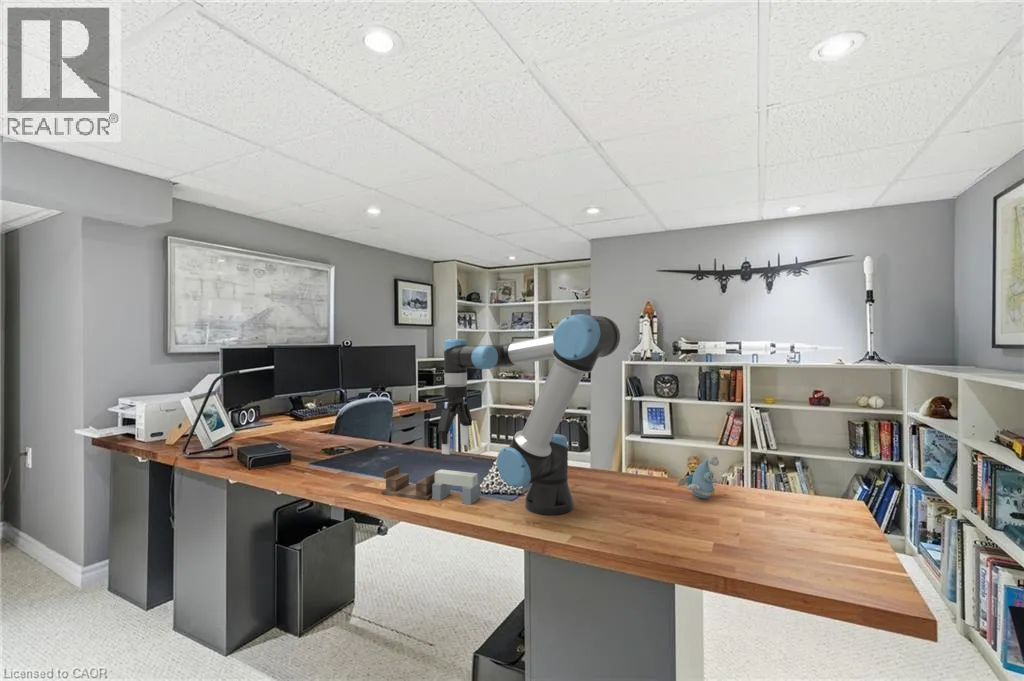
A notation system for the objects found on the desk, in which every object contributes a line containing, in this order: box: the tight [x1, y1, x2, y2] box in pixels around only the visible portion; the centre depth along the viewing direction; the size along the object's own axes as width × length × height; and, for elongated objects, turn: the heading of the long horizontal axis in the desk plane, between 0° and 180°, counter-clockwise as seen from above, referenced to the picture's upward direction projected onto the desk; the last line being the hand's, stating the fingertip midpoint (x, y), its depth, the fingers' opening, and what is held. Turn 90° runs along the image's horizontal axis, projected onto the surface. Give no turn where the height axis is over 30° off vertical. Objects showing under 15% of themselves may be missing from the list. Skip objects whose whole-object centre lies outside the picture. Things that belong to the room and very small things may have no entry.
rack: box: [381, 465, 438, 501], centre depth 162 cm, size 18×10×7 cm, turn 69°
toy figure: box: [676, 455, 720, 499], centre depth 156 cm, size 17×10×15 cm, turn 129°
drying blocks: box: [431, 482, 481, 506], centre depth 156 cm, size 14×7×5 cm, turn 69°
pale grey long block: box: [435, 469, 479, 488], centre depth 156 cm, size 14×4×4 cm, turn 69°
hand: (455, 449), depth 155 cm, fingers open, 13 cm apart
